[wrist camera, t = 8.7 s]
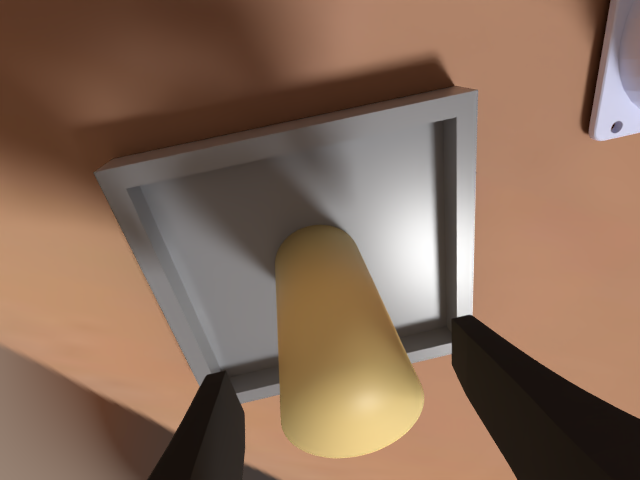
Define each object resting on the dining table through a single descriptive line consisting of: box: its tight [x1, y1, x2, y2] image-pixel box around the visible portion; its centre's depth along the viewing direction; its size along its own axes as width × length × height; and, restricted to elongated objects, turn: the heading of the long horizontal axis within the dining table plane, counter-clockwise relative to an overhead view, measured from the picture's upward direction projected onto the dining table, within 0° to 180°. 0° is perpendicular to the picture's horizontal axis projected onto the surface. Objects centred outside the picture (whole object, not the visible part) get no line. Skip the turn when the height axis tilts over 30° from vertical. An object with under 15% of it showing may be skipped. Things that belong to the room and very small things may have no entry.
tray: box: [93, 86, 478, 404], centre depth 17 cm, size 14×13×2 cm
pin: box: [275, 225, 424, 458], centre depth 14 cm, size 4×4×8 cm
